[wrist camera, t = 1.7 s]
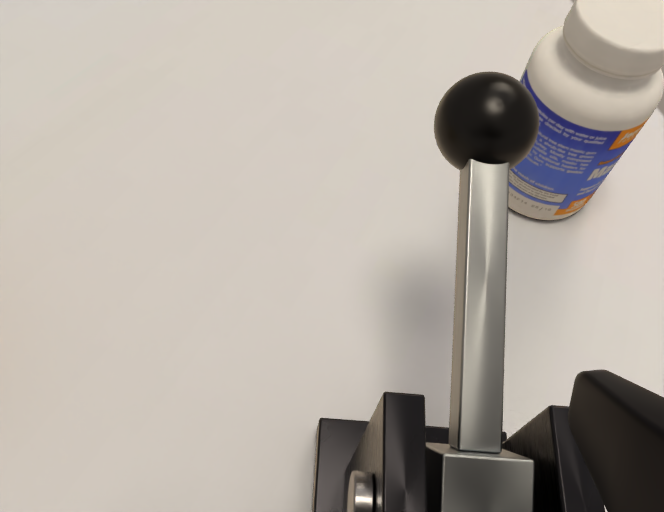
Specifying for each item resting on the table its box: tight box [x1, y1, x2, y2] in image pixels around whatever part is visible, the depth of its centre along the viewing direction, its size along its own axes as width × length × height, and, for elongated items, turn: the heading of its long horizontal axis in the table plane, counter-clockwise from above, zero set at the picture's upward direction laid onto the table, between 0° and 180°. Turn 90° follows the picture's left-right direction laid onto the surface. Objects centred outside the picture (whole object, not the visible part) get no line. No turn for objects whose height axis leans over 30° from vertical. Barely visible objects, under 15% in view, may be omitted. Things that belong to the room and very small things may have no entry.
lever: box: [426, 72, 539, 512], centre depth 16 cm, size 13×3×3 cm, turn 177°
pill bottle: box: [508, 0, 664, 220], centre depth 27 cm, size 5×5×10 cm
